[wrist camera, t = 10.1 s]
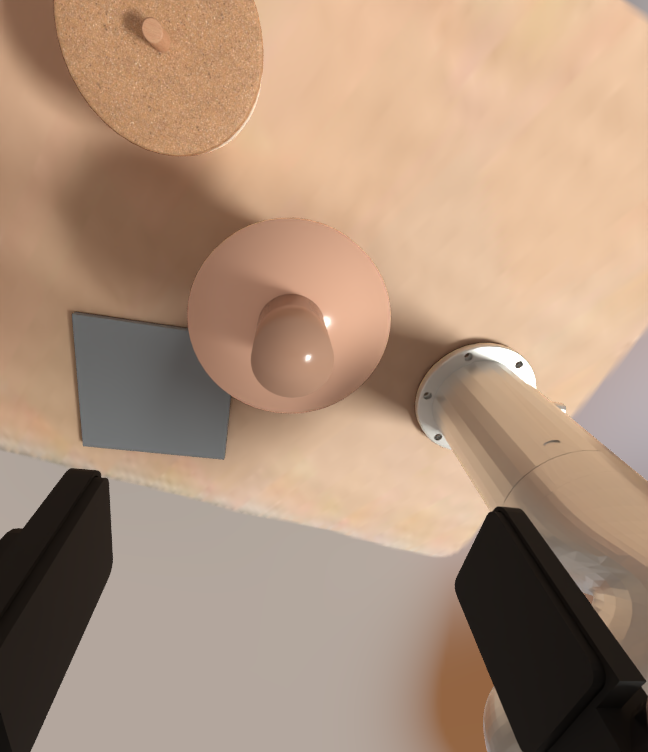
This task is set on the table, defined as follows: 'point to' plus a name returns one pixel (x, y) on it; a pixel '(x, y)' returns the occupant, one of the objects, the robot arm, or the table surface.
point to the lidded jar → (165, 68)
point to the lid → (289, 315)
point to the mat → (146, 389)
